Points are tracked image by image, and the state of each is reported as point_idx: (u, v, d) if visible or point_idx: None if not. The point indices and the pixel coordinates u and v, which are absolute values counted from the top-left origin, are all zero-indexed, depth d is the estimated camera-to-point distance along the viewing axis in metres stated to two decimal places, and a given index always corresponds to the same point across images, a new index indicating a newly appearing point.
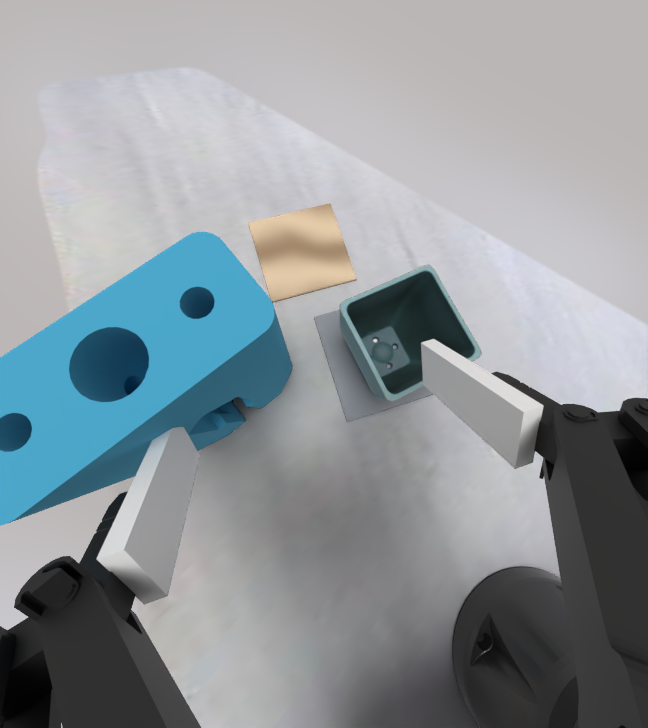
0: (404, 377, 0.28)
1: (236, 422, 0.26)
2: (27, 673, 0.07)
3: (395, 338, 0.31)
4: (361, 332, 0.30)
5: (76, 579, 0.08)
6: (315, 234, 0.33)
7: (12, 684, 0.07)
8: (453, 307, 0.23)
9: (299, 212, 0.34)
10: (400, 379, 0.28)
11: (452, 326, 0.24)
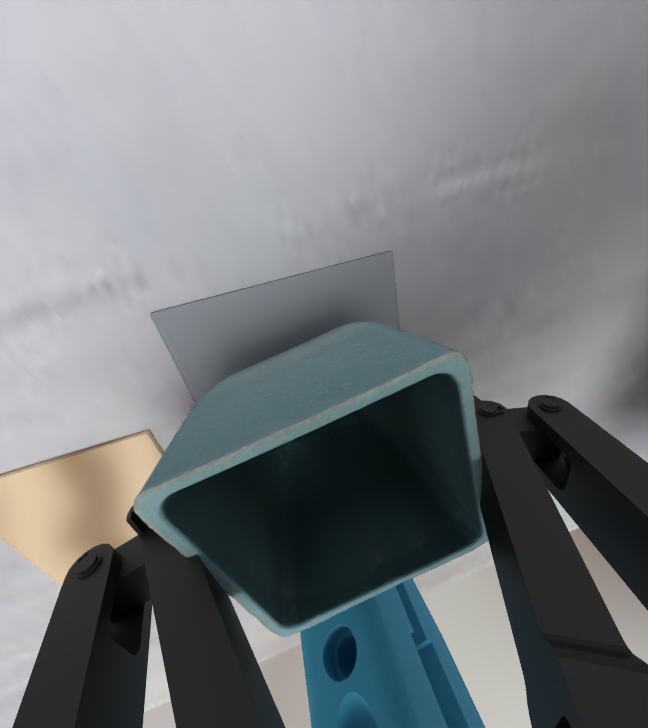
0: None
1: None
2: (134, 581, 0.08)
3: None
4: None
5: None
6: (54, 507, 0.16)
7: (123, 589, 0.08)
8: (297, 434, 0.07)
9: (6, 537, 0.16)
10: None
11: None
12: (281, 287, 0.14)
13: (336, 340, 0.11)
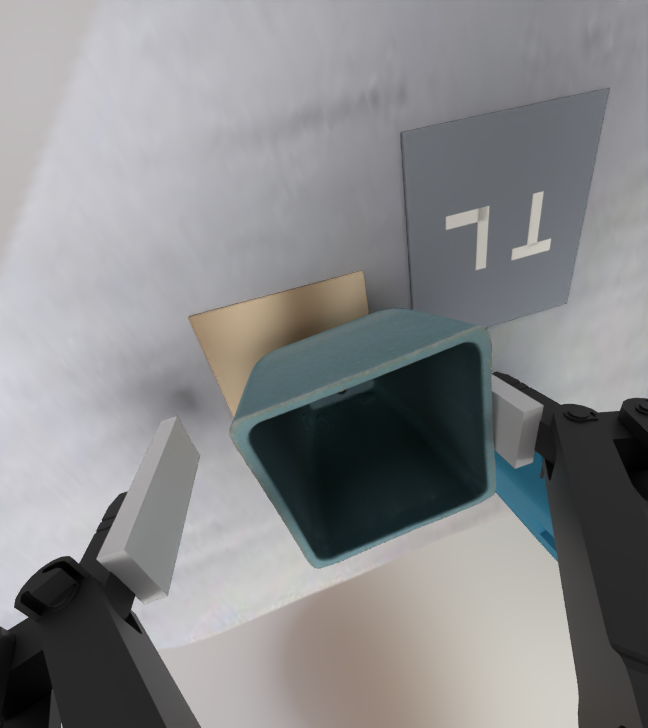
0: (400, 368, 0.16)
1: None
2: (27, 673, 0.07)
3: None
4: (302, 410, 0.18)
5: (76, 579, 0.08)
6: (267, 348, 0.17)
7: (12, 684, 0.07)
8: (358, 381, 0.09)
9: (219, 377, 0.17)
10: (401, 375, 0.16)
11: None
12: (512, 116, 0.15)
13: (373, 321, 0.13)
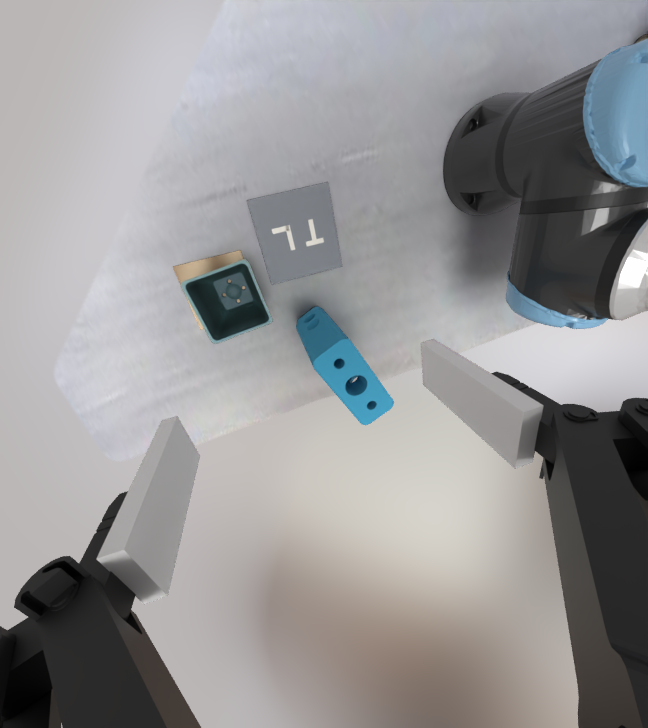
0: (254, 287, 0.42)
1: None
2: (26, 673, 0.07)
3: (222, 280, 0.43)
4: (219, 307, 0.44)
5: (76, 579, 0.08)
6: None
7: (12, 684, 0.07)
8: (213, 272, 0.35)
9: None
10: (255, 290, 0.42)
11: None
12: (289, 193, 0.41)
13: None
